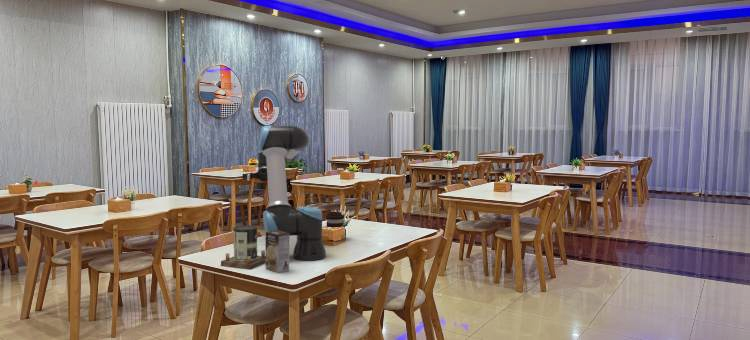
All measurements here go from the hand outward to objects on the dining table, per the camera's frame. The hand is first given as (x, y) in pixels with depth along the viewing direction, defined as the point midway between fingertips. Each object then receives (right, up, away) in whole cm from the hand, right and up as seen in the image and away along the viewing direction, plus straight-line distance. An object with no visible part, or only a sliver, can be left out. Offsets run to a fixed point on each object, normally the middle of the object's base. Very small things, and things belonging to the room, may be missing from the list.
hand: (262, 177), depth 262 cm
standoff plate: (-1, -37, -28) cm, 47 cm away
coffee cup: (+34, -34, +23) cm, 53 cm away
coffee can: (-1, -36, -28) cm, 45 cm away
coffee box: (+14, -39, -37) cm, 55 cm away
